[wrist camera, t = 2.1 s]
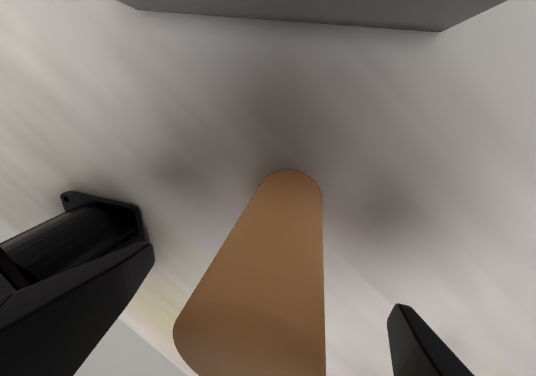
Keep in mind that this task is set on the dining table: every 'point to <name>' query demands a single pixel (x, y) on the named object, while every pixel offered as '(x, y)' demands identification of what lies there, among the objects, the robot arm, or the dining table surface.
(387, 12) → the socket tray
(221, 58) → the dining table surface
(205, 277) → the peg
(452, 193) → the dining table surface
